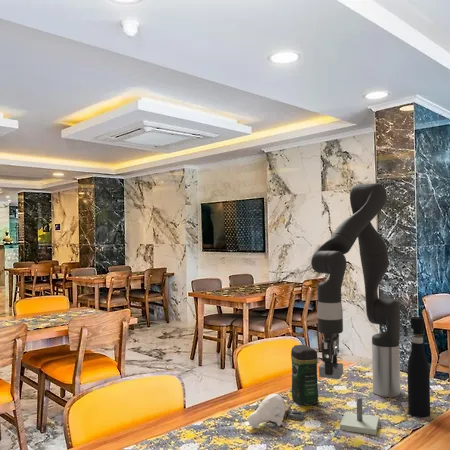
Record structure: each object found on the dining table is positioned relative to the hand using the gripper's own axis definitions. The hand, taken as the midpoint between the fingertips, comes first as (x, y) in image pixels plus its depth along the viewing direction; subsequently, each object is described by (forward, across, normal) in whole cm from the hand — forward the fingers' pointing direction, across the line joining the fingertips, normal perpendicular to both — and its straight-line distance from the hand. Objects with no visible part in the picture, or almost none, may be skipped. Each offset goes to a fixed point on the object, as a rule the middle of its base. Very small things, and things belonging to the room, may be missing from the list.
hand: (331, 371), depth 141 cm
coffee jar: (+16, +14, +12) cm, 24 cm away
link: (+1, 0, 0) cm, 1 cm away
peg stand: (+15, 0, -8) cm, 17 cm away
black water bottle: (+16, +16, -24) cm, 33 cm away
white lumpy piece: (+15, -10, +18) cm, 26 cm away
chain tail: (+15, -1, +13) cm, 20 cm away
